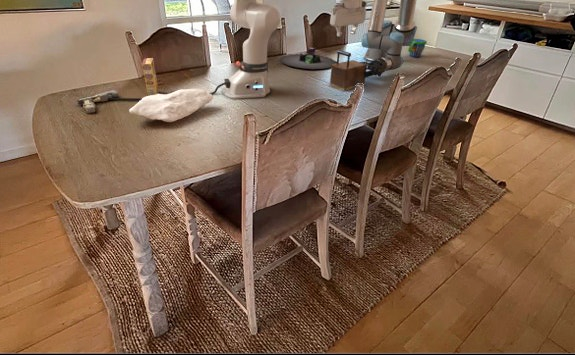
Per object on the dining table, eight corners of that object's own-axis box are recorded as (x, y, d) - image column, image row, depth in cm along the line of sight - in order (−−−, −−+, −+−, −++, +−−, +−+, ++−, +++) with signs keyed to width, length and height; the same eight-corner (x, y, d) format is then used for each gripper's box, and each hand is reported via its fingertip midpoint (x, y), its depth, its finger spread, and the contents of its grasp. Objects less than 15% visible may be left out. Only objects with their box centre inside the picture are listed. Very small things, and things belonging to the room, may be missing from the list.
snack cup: (416, 52, 253) (419, 37, 248) (428, 56, 246) (432, 40, 240) (401, 55, 246) (404, 39, 240) (413, 59, 238) (416, 43, 233)
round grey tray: (348, 64, 220) (349, 48, 215) (302, 72, 202) (302, 55, 198) (313, 55, 244) (313, 41, 240) (269, 61, 227) (268, 46, 222)
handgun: (128, 97, 156) (111, 87, 164) (86, 107, 144) (70, 97, 152) (129, 103, 157) (113, 94, 165) (88, 114, 146) (72, 103, 154)
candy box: (157, 97, 164) (152, 63, 155) (147, 98, 163) (141, 63, 155) (158, 91, 171) (153, 57, 163) (149, 91, 170) (143, 58, 162)
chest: (343, 91, 181) (346, 71, 176) (329, 85, 187) (331, 66, 182) (364, 85, 189) (367, 66, 184) (350, 80, 196) (352, 61, 191)
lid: (344, 71, 175) (346, 54, 171) (330, 66, 182) (332, 50, 177) (367, 66, 184) (369, 50, 180) (352, 61, 190) (354, 46, 186)
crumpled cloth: (117, 110, 146) (113, 90, 140) (195, 92, 166) (194, 73, 160) (143, 139, 134) (140, 118, 128) (223, 116, 154) (224, 96, 148)
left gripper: (338, 5, 157) (335, 38, 164) (369, 2, 168) (365, 34, 175) (328, 3, 161) (325, 36, 168) (359, 0, 172) (355, 31, 179)
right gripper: (398, 77, 193) (372, 85, 181) (362, 66, 209) (336, 72, 197) (401, 63, 189) (375, 69, 177) (364, 53, 205) (338, 58, 193)
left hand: (346, 35), depth 172 cm, fingers open, 8 cm apart
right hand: (354, 71), depth 187 cm, fingers open, 13 cm apart
